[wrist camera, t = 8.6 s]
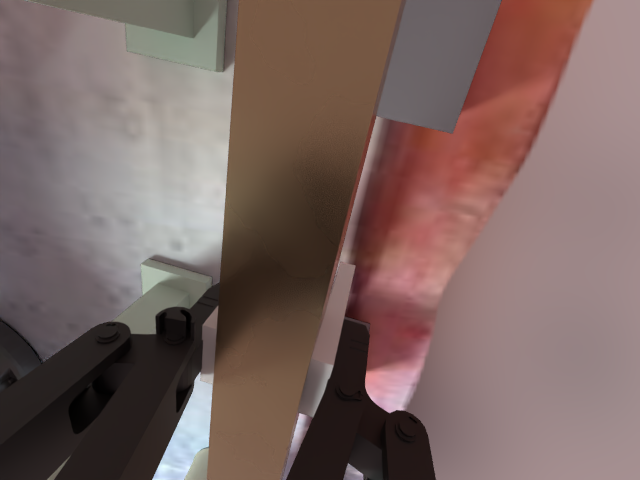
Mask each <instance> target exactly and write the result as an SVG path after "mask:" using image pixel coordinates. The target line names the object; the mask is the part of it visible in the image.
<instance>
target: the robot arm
mask: <svg viewBox="0 0 640 480" xmlns="http://www.w3.org/2000/svg"><path fill="white" fill-rule="evenodd" d="M354 270H355V265H351V264H348V263H344V262H340V266H339V269H338V272H337V275H336V279H335V282H334V285H333V288H332V292H331V295H330V298H329V301H328V304H327V308H326V312H325V315H324V318H323V322H322V325H321V328H320V332H319V335H318V338H317V341H316V345H315V348H314V351H313V354H312V358H311V361H310V365H309V369H308V373H307V377H306V381H305V385H304V389H303V393H302V397H301V401H300V405H299V408H298V413H301V414H305V415H308V416H311V417H313V419H312V421H311V424H310V426H309V428H308V431H307V433H306V435H305V437H304V440H303V442H302V444H301V447H300V449H299V451H298V454H297V456H296V458H295V460H294V463H293V465H292V467H291V470H290V472H289V474H288V477H287V479H286V480H343V478H344V475H345V471H346V468H347V464H348V463H349V464H350V465H352V466H353V467H354V468H356V469H357V470H358V471H360V472H361V473H362V474H363V480H436V478H435V473H434V467H433V461H432V455H431V450H430V444H429V439H428V434H427V432H426V429H425V427H424V426H423V424H422V423H421V421H420V420H419V419H418V418H416V417H415V416H414V415H413V414H411V413H408V412H406V411H399V410H396V411H394V412H391V413H388V412H387V411H385V410H383V409H382V408H380V407H379V406H378V405H376V404H375V403H374V402H373V401H372V400H371V399H370V397H369V396H368V394H367V392H366V389H365V376H366V366H367V357H368V347H369V346H368V345H369V337H370V335H369V332H368V330H367V327H366V325H363V324H360V323H356V322H353V321H349V320H346V319H344V316H345V311H346V307H347V302H348V297H349V293H350V288H351V284H352V279H353V275H354ZM219 288H220V283H218V284H216V285H214V286H212V287H210V288H209V289H208V290H207V291H206V292H205V293H204V294H203V295H202V297H200V298H199V299H198V301H197V302H196V303H195V304H194V305H193V306H192V307H191V308H190V309H188V308H185V307H176V306H175V307H170V308H166V309H164V310H162V311H160V312H159V313H158V314H157V315H156V316H155V321H156V334H131V331H130V328H129V326H127V325H126V324H124V323H121V322H106V323H103V324H99V325H97V326H95V327H94V328H92V329H90V330H89V331H87V332H86V333H85V334H83V335H82V336H80V337H79V338H78V339H76V340H75V341H73V342H72V343H71V344H69V345H68V346H66V347H65V348H63V349H62V350H61V351H59V352H58V353H56V354H55V355H54V356H52V357H51V358H49V359H48V360H46V361H45V362H44V363H42V364H41V362H40V360H39V359H38V357H37V356H36V354H35V353H34V351H33V350H32V349H31V348H30V346H29V345H28V344H27V343H26V342H25V341H24V340H23V339H22V338H21V337H20V336H19V335H18V334H17V333H16V332H15V331H13V330H12V329H11V328H10V327H8V326H7V325H6V324H4V323H3V322H2V321H0V480H47V479H48V478H49V477H50V476H51V475H52V474H53V473H54V472H55V471H56V470H57V469H58V468H59V467H60V466H61V465H62V464H63V463H64V462H65V461H66V460H67V459H68V458H69V459H68V460H67V462H66V463H65V465H64V466H63V467H62V469H61V470H60V472H59V473H58V475H57V476H56V477H55V479H54V480H152V479H153V477H154V474H155V472H156V470H157V468H158V466H159V463H160V461H161V459H162V457H163V455H164V453H165V450H166V448H167V446H168V444H169V442H170V440H171V437H172V435H173V433H174V431H175V429H176V427H177V424H178V422H179V420H180V418H181V416H182V414H183V411H184V409H185V407H186V405H187V403H188V401H189V398H190V396H191V394H192V392H193V388H194V380H195V378H196V377H197V375H198V374H199V372H200V371H201V375H200V381H204V382H207V383H210V384H213V377H214V362H215V347H216V332H217V318H218V303H219Z"/></svg>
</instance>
